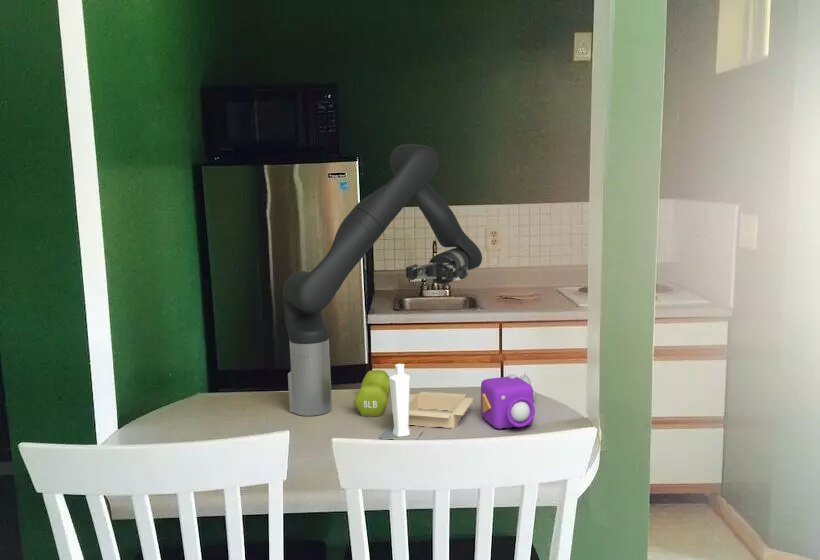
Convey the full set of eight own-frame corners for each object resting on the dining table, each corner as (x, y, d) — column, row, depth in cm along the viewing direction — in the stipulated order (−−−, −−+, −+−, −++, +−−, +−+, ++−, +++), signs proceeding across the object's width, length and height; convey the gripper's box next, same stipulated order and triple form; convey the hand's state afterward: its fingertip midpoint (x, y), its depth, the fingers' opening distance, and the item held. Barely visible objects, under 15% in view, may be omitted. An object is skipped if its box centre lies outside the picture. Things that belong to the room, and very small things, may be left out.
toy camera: (508, 439, 147) (508, 392, 145) (473, 420, 159) (472, 377, 157) (549, 429, 152) (549, 384, 150) (512, 411, 164) (512, 370, 162)
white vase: (387, 435, 149) (385, 367, 147) (395, 428, 153) (393, 361, 151) (407, 438, 148) (405, 368, 146) (415, 431, 152) (413, 363, 150)
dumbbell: (387, 418, 162) (386, 388, 161) (353, 418, 163) (351, 388, 162) (394, 396, 178) (393, 368, 177) (362, 396, 179) (361, 368, 178)
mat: (379, 438, 149) (378, 437, 149) (388, 429, 155) (388, 427, 155) (415, 442, 147) (415, 440, 147) (423, 432, 152) (423, 430, 152)
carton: (389, 427, 156) (389, 412, 155) (411, 404, 171) (411, 390, 170) (460, 433, 151) (460, 417, 150) (476, 409, 166) (476, 395, 165)
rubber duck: (517, 408, 166) (516, 375, 165) (508, 400, 172) (508, 368, 171) (539, 406, 167) (539, 374, 165) (530, 398, 173) (530, 366, 172)
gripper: (419, 251, 178) (398, 259, 163) (474, 251, 174) (459, 259, 159) (420, 281, 179) (399, 291, 164) (475, 282, 175) (459, 292, 160)
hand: (429, 275), depth 161 cm, fingers open, 8 cm apart
